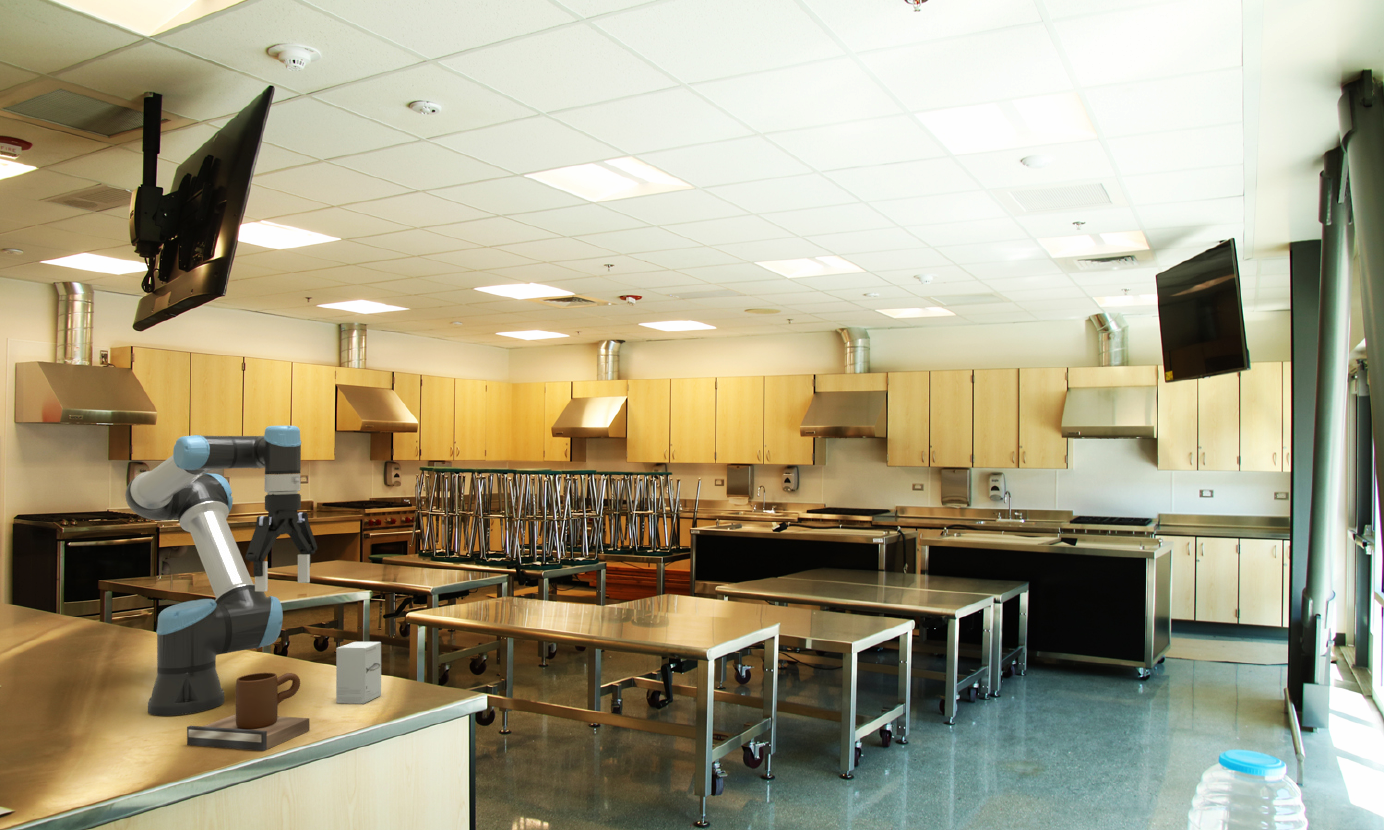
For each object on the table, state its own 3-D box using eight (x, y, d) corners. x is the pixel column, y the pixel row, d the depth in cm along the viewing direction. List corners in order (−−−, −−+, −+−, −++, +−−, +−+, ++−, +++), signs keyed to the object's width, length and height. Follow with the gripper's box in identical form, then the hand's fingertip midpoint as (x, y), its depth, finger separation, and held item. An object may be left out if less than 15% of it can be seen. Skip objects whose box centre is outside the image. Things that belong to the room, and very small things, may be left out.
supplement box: (364, 704, 202) (364, 647, 202) (335, 703, 203) (334, 647, 204) (382, 695, 209) (382, 641, 209) (353, 694, 210) (353, 640, 211)
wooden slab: (186, 745, 175) (186, 726, 175) (236, 725, 187) (236, 708, 188) (263, 750, 170) (263, 732, 170) (309, 730, 183) (309, 713, 183)
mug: (295, 712, 187) (295, 666, 188) (304, 720, 181) (304, 673, 182) (232, 723, 180) (232, 676, 181) (239, 732, 174) (239, 683, 174)
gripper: (256, 495, 191) (256, 595, 190) (332, 490, 215) (333, 579, 214) (227, 495, 193) (227, 594, 192) (306, 491, 217) (306, 578, 216)
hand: (283, 586), depth 203 cm, fingers open, 13 cm apart
